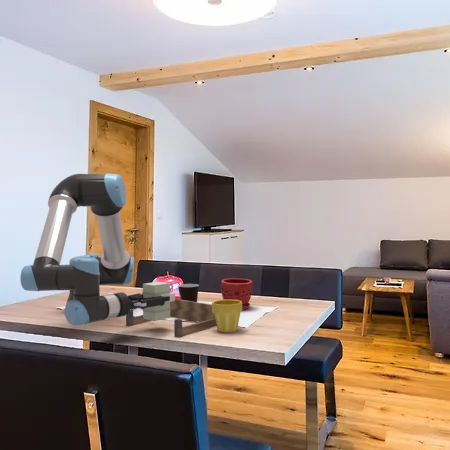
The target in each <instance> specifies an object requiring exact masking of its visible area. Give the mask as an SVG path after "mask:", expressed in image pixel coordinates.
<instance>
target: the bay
mask: <svg viewBox="0 0 450 450" xmlns="http://www.w3.org/2000/svg"><path fill="white" fill-rule="evenodd" d="M170 309H171V310H170V318H176V319H173V321H174V324H173V326H174V329H173V330H174V331H173V333H174V336H173V337H175V338H181V337H183V336H187V335H190V334H194V333H197V332H199V331H203V330H207V329H211V328H213V327H217V324H216V320H215V315H214V313H213V312H212V303H206V302H205V303H204V302H198V301H197V302H193V301H186V300H180V298H175V301H171V302H170ZM183 320H185V321H192V322H195V323H191V324H189V325H185V326H183ZM151 321H152V320H147V319H143V314H142V315H137V316H134V309H133V310H131V309H130V311H129V313H128V314H127V315H125V326H127V327H132V326H134V325H135V326H136V325H138V324H143V323H147V322H151Z"/></svg>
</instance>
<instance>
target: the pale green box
mask: <svg viewBox="0 0 450 450" xmlns="http://www.w3.org/2000/svg"><path fill="white" fill-rule="evenodd" d="M142 292H143V297H144V298H148V297H157V296H160V295H164V294H170V293H171V283H170V282H162V281H155V282H147V283H142ZM170 310H171V309H170V302H166V303H165V305H163V306H160V305H159V306H154V307H148V308H145V309H142V315H143V319H147V320H152V321H153V322H158V321H162V320H166V319H170V318H171V317H170Z"/></svg>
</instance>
